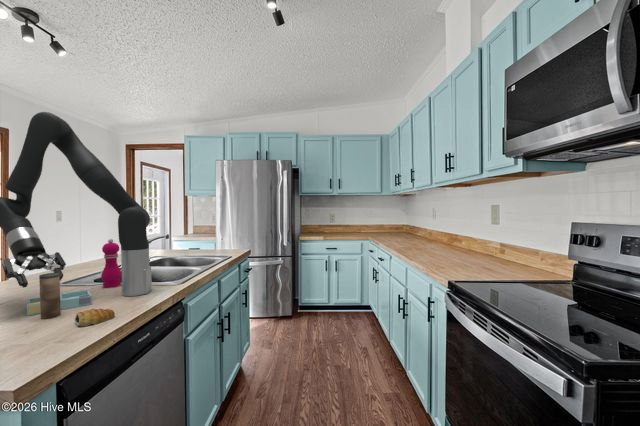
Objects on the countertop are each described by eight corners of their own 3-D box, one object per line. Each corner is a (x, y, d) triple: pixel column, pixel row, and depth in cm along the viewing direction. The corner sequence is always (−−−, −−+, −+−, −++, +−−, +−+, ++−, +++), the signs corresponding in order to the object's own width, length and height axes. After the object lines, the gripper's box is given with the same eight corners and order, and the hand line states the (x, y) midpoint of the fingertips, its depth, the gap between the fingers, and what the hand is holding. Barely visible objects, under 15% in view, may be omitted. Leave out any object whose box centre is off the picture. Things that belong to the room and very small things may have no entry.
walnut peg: (64, 312, 96) (62, 272, 96) (55, 318, 91) (53, 275, 91) (46, 314, 95) (45, 273, 94) (37, 319, 90) (35, 276, 90)
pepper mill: (99, 289, 123) (98, 240, 123) (103, 285, 130) (101, 238, 129) (121, 286, 127) (119, 239, 126) (123, 282, 133) (121, 237, 133)
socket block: (88, 297, 112) (88, 288, 112) (91, 304, 104) (91, 294, 104) (28, 308, 101) (28, 298, 101) (26, 316, 93) (26, 305, 93)
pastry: (110, 314, 95) (110, 302, 95) (118, 319, 91) (117, 307, 91) (72, 323, 88) (72, 310, 88) (79, 329, 83) (78, 316, 83)
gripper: (-2, 238, 92) (16, 280, 87) (55, 234, 104) (74, 270, 100) (-9, 254, 94) (9, 296, 89) (48, 248, 107) (66, 284, 102)
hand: (43, 282), depth 95 cm, fingers open, 8 cm apart
